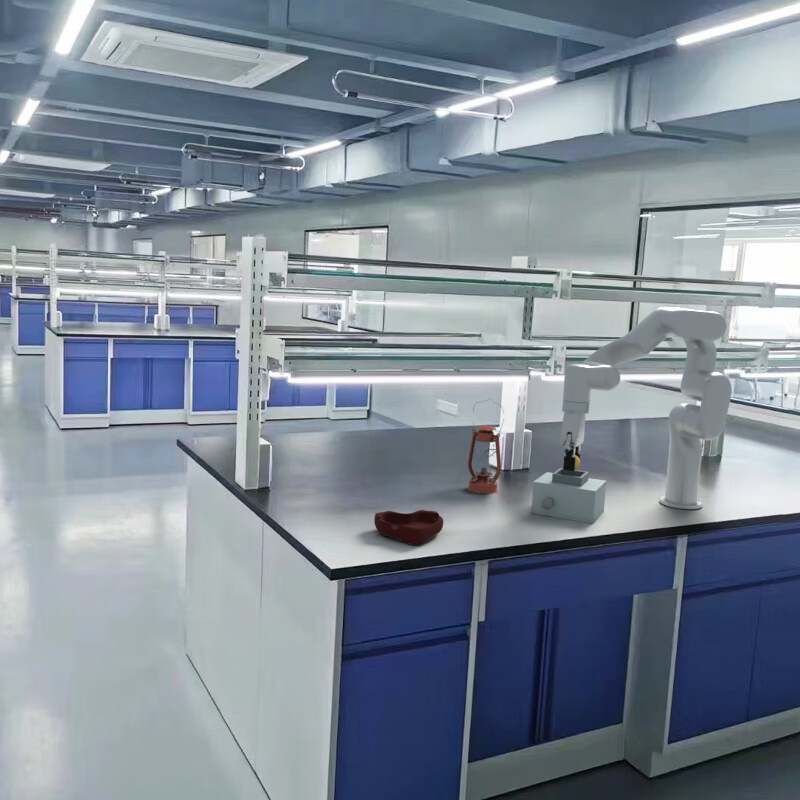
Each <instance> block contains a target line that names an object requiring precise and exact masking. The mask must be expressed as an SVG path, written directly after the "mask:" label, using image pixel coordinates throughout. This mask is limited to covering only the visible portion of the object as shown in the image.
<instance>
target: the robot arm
mask: <svg viewBox="0 0 800 800" xmlns="http://www.w3.org/2000/svg"><path fill="white" fill-rule="evenodd" d="M727 327H728V325H727V321H726V318H725V317H724V316H723V315H722V314H721V313H719V312H717V311H706V310H696V309H695V310H694V309H689V308H683V307H671V306H670V307H669V306H663V307H662V306H661V307H658V308H656V309H654V310H653V311H651V312H650V313H649V314H648V315H647V316H645V318H643V319H642V320H641V321H640V322H639V323H638V324H636V326H634V327H633V328H632V329H631V330H630V331H629V332H628V333H627V334H625V335H623V336H622V337H619V338H617V339H615V340H613V341H612V342H609V343H607V344H605V345H603V346H601V347H600V348H598V349H596V350H595V351H594V352H593V353H592V354H590V355H589V356H588V357H587V358H586V359H585V360H584V361H583V362H582V363H569V364H567V365H566V366H565V370H564V381H563V382H564V383H563V393H562V396H563V397H562V406H561V408H562V410H561V411H562V413H563V417H562V424H561V430H560V439H559V445H560V446H562V447H564V454H563V460H564V464H563V467H562V468H563V469H564V470H568V471H574V470H575V458H576V457H574V456H575V455H576V456H578V458H579V459H580V458H581V444H583V443H584V440H585V433H586V432H585V431H586V415H587V414H589V413H590V412H589V411H590V401H591V399H590V398H591V390H596V391H598V390H599V391H601V392H602V391H604V392H607V391H611V390H614V389H615V388H617V386H619V384H620V382H621V374H620V372H619V370H618V369H617V368H616V366H619V365H620V364H624V363H628V362H633V361H637V360H640V359H643V358H645V357H647V356H648V355H649V354H650V353H651V352H652V351H654V350H655V349H656V348H657V347H658V346H659V345H660V344H661V343H662V342H663V341H664V340H666V339H667V338H670V337H671V338H680V339H682V340H683V342H684V345H685V347H686V357H685V363H684V368H683V373H682V376H681V377H682V379H681V382H680V393H681V394H682V396H684V397H685V398H686V399H689V400H693V401H696V402H700V405H698V404H695V403H694V404H693V403H689V402H688V403H685V402H683V403H682V402H681V403H680V404H677V405H675V406H674V407H673V408H671V410H670V412H669V414H668V431H669V447H668V448H669V449H668V459H667V469H666V470H667V471H666V481H665V492H664V495H661V496H660V497H659V499H658V500H659V503H660V504H662V505H664V506H666V507H670V508H674V509H680V510H699V509H701V508H702V507H703V502H702V501H701V500H700V499H698V497H699V494H698V493H699V486H700V485H699V483H700V474H701V464H702V455H703V446H702V442H701V440H702V441H713V440H716V439H717V438H718V437H720V436H721V434H722V432H723V430H724V428H725V424H726V421H727V416H728V412H729V407H730V403H731V399H732V393H733V390H732V388H733V387H732V384H731V380H730V379H729V378H728V376H726V374H724V373H721V372H717V371H715V369H716V361H717V356H718V354H717V347H716V343H715V341H717V340H719V339H721V338H722V337H723V336H724V335H725V334H726V331H727ZM580 460H581V459H580Z"/></svg>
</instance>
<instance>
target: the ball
mask: <svg viewBox="0 0 800 800" xmlns="http://www.w3.org/2000/svg"><path fill="white" fill-rule="evenodd" d="M574 457H576V458H575V470H578V468H579V467H580V465H581V459H579V458H578V456H576V455H575V456H574ZM562 464H563V465H564V459H563V463H562Z"/></svg>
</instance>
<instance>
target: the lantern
mask: <svg viewBox="0 0 800 800" xmlns="http://www.w3.org/2000/svg"><path fill="white" fill-rule="evenodd" d="M489 400H491V401H492V402H493V403H494V404H496V405H498V406H499V407H501V408H502V411H503V413H505V411H504V408H503V407H502V405H500V403H497V402H495V401H494V400H493V399H492V398H491V397H490V398H488V399H486V400H485V402H487V401H489ZM482 402H484V400H483V401H480V403H482ZM478 403H479V401H477V402H476V403H475V404H474V405H473V409H472V410H473V411H472V412H474V410H475V405H476V404H478ZM504 421H505V419H503V420H502V423H501V427H500V429H499V431H498V432H497V433H496V434H495V432H494V431H496V430H497V428H496V427H494V426H491V425H489V424H484V425H478V426H476V427H475V423H474V422H472V423H473V427H472V428H473V429H472V430H471V433H472V436H471V442H470V447H469V453H468V459H467V469H468V472H469V475H470V476H471V478H470V479H469V480H468V487H467V490H468V491H469V490H470V491H469V492H471V491H473V492H472V493H474V492H477V493H476V494H480V493H487V494H486V495H489V494H490V493H493V494H495V493H498V492H497V491H498V482H497V480H498V479H499V478H500V476H501V473H502V461H501V447H500V437H501V430H502V427H503V423H504ZM475 429H477V430H479V431H476V430H475ZM476 441H477V442H480V443H495V448H489V449H487V450H485V451H482V450H481V449H480V448H479V447H475V445H476ZM475 449H477V450H475ZM491 450H492V451H494V452H493V453H491V454H490V455H489V456H488V457H487V456H486V454H485V453H487V452H488V451H491ZM474 452H476V453H478V454H480V455H481V456H480V458H479V460H478V462H477V465H476V469H475V471H474V469H473V466H472V465H473V464H472V462H473V457H474ZM494 454H495V457H496V472H495V473H494V476H493V473H492V470H491V466H490V463H489V458H490V457H491V456H493V455H494ZM482 457H484V458H485V459H484V460H483V462H482V463H481V465H480V467H479V469H478V465H479V463H480V461H481V458H482ZM485 462H487V465H488V469H489V472H488V471H487V467H482V466H483V464H484V463H485ZM477 470H478V471H477ZM488 493H489V494H488ZM490 495H491V494H490Z"/></svg>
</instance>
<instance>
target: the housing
mask: <svg viewBox="0 0 800 800" xmlns="http://www.w3.org/2000/svg"><path fill="white" fill-rule="evenodd" d="M589 475H590V472H589V471H586V470H585V471H584V470H578V469H576V470H574V471H568V470H564V469H563V467H560V468H558V469H556V471H554V472H548V471H547V472H545V473H544V474H541V476H539V477H538V478H536V479H535V480H534V481H533V482H532V483H533V486H532V498H531V499H532V500H531V512H530V513H531V514H534V513H535V515H540V514H541V515H542V516H546V515H547V517H553V518H558V519H565V520H570V521H575V522H576V521H577V522H583V523H588V522H589V524H595V522H596V521H597V520H598V519H599V518H600V516H602V514H603V513H604V512H605V501H606V490H607V489H606V488H607V480H604V479H598V478H597V479H596V478H590V476H589ZM541 515H540V516H541ZM598 517H599V518H598ZM597 518H598V519H597Z"/></svg>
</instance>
